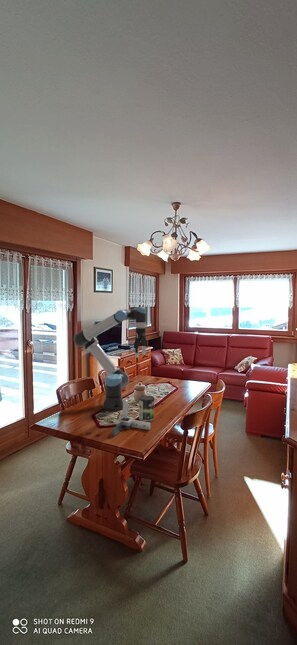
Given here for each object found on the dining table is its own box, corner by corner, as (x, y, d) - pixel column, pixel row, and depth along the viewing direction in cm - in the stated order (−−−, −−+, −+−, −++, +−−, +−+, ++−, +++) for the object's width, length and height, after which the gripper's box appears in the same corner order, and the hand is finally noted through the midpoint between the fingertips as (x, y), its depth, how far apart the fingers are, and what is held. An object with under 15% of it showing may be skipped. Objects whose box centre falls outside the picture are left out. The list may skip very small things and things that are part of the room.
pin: (122, 426, 191) (122, 400, 190) (124, 424, 194) (124, 399, 193) (126, 426, 190) (126, 401, 189) (128, 425, 193) (128, 399, 192)
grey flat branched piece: (107, 434, 179) (107, 428, 178) (122, 422, 198) (122, 415, 198) (139, 440, 172) (140, 433, 171) (152, 426, 191) (152, 420, 191)
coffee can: (157, 417, 206) (157, 396, 205) (148, 422, 198) (149, 400, 197) (144, 414, 212) (144, 394, 211) (135, 419, 203) (135, 398, 202)
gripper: (139, 329, 218) (138, 359, 219) (151, 326, 241) (150, 353, 242) (129, 328, 220) (129, 358, 222) (142, 326, 244) (141, 353, 245)
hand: (140, 355), depth 232 cm, fingers open, 13 cm apart
